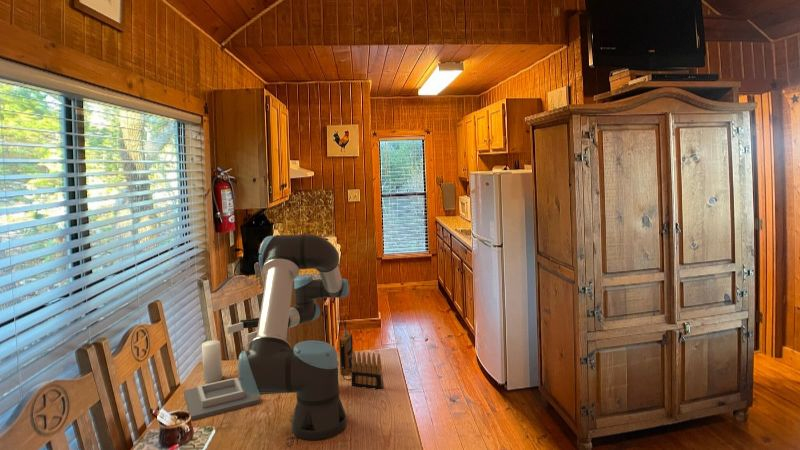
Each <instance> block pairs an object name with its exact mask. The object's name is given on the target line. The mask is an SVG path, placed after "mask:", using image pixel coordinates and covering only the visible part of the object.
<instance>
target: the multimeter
mask: <svg viewBox="0 0 800 450" xmlns="http://www.w3.org/2000/svg"><path fill="white" fill-rule="evenodd" d="M346 317H347V318H348V319H350V317H349V315H348V314H345V315H344V316H343V319H340V320H339V324H338V325H339V327H338V330H339V331H338V333H339V334H338V335H339V340H338V350H339V351H338V353H339V369H340V370H339V371H340V372H339V373H340V375H342V378H343V379H344V380H345V381H350V380H351V381H352V378H349V379H347V378H345V375H346V376H349V374H350V373H351V372H352V354H353V351H354V344H353V333H352V332H351V331H350V330H351V329H350V328H348V331H347V322H346V321H347V320H346ZM342 321H343V323H344V324H343V325H344V329H343V331H344V332H343V334H342V336H341V322H342Z"/></svg>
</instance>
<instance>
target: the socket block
mask: <svg viewBox="0 0 800 450" xmlns="http://www.w3.org/2000/svg"><path fill="white" fill-rule="evenodd" d="M183 395H184V396H183V397H184V399H185V403H186V407H187V411H188V414H189V413H190V415H191V421H194V420H199V419H202V418H203V419H204V418H206V417H210V416H215V415H218V414H222V413H226V412H229V411H233V410H237V409H241V408H245V407H248V406H249V407H250V406H253V405H257V404H261V397H259V396H260V395H259V394H246V393H245V392H244V391H243V390H242V388H241V385H240V380H239V377H232V378H228V379H224V380H222V379H221V380H220V381H218V382H213V383H206V384H205V383H204V384H201V385H197V386H196V387H194V388H188V389H185V390H183Z"/></svg>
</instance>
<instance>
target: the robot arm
mask: <svg viewBox="0 0 800 450" xmlns="http://www.w3.org/2000/svg"><path fill="white" fill-rule="evenodd" d="M258 253H259V255H258V264H259V268H260V269H261V270H262V272H263V274H264V275H265V283H264V288H263V295H262V298H261V299H262V301H261V304H260V305H261V307H260V312H259V317H253V318H248V319H241V320H239V322H238V323H234V324H231V325H228V326H225V327H226V335H231V334H233V333H237V332H239V331H244V330H245V329H253V328H256V330H255V331H252V332H250V333H249V332H248V333H246V337H245V339H246V342H247V343H249V344H248V349H247V350H246V349H245V350H243V351H241V352H240V353H239V355H238V362H237V368H238V369H237V370H238V378H239V380H240V385H241V388H242V390H243V391H244V392H245V393H246V394H257V395H258V396H263V395H276V394H294V393H295V394H296V403H295V407H294V411H293V413H292V414H293V415H292V418H291V431H292V433H293V435H294V436H295V437H297V438H299V439H302V440H307V441H319V440H320V441H322V440H326V439H329V438H332V437H334V436H337V435H338V434H340V433H341V432H343V431H344V430H345V429H346V427H347V424H348V423H347V414H346V411H345V409H344V406H343V403H342V400H341V398H340V386H339V385H340V384H339V369H338V368H339V361H338V352H337V350H336V347H334V346H333V345H332V344H330V343H329V342H326V341H322V340H315V339H314V340H313V339H311V340H309V339H308V340H305V341H300V342H297V343H296V344H294V347H293V348H291V346H292V345H291V343H290V342H288V341H287V337H288V336H287V335H288V330H289V329H290V328H291V329H293V328H294V327H297V326H298V325H303V324H306V323H309V322H312V321H315V320H316V319H318V318H319V316H320V315H321V308H320V306H319V304H318V302H316V301H315V300H314V299H334V298H336V299H337V298H338V299H341V298H347V297H348V296H349V294H350V293H349V292H350V288H349V280H348V279H347V278H342V274H341V271H340V266H339V264H340V254H339V251H338V250H337V248H336V247H335V245H334V244H332V243H331V242H330V241H329V240H327V239H325V238H324V237H321V236H319V235H316V234H284V235H283V234H281V235H280V234H276V235H269V236H268V235H267V236H266V237H264V238H263V240H262V242H261V244H260V247H259V252H258ZM308 269H309V270H311V269H313V270H314V269H315V270H316V271H317V272H318V273H319V274H318V275H319V276H320V279H313V276H312V275H310V274H300V270H308ZM293 289H294V290H293ZM293 292H294V306H293V307H291V302H292V297H293V295H292V294H293Z"/></svg>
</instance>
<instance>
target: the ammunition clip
mask: <svg viewBox="0 0 800 450" xmlns="http://www.w3.org/2000/svg"><path fill="white" fill-rule="evenodd" d="M356 355H357V356H356ZM376 357H377V358H376ZM382 369H383V368H382V358H381V354H380V352H378V353H377V356H376V353H375V352H373V353H372V357H371V353H370V352H367V355H366V353H365V351H363V352H362V355H361V352H360V351H359V350H358V351H357V354H356V352H355V350H353V354H352V370H351V387H353V386H355V388H361V387H366V388H365V389H369V388H375V389H374V390H378V389H382V388H383V389H384V377H383V371H382ZM383 389H382V390H383Z"/></svg>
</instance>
